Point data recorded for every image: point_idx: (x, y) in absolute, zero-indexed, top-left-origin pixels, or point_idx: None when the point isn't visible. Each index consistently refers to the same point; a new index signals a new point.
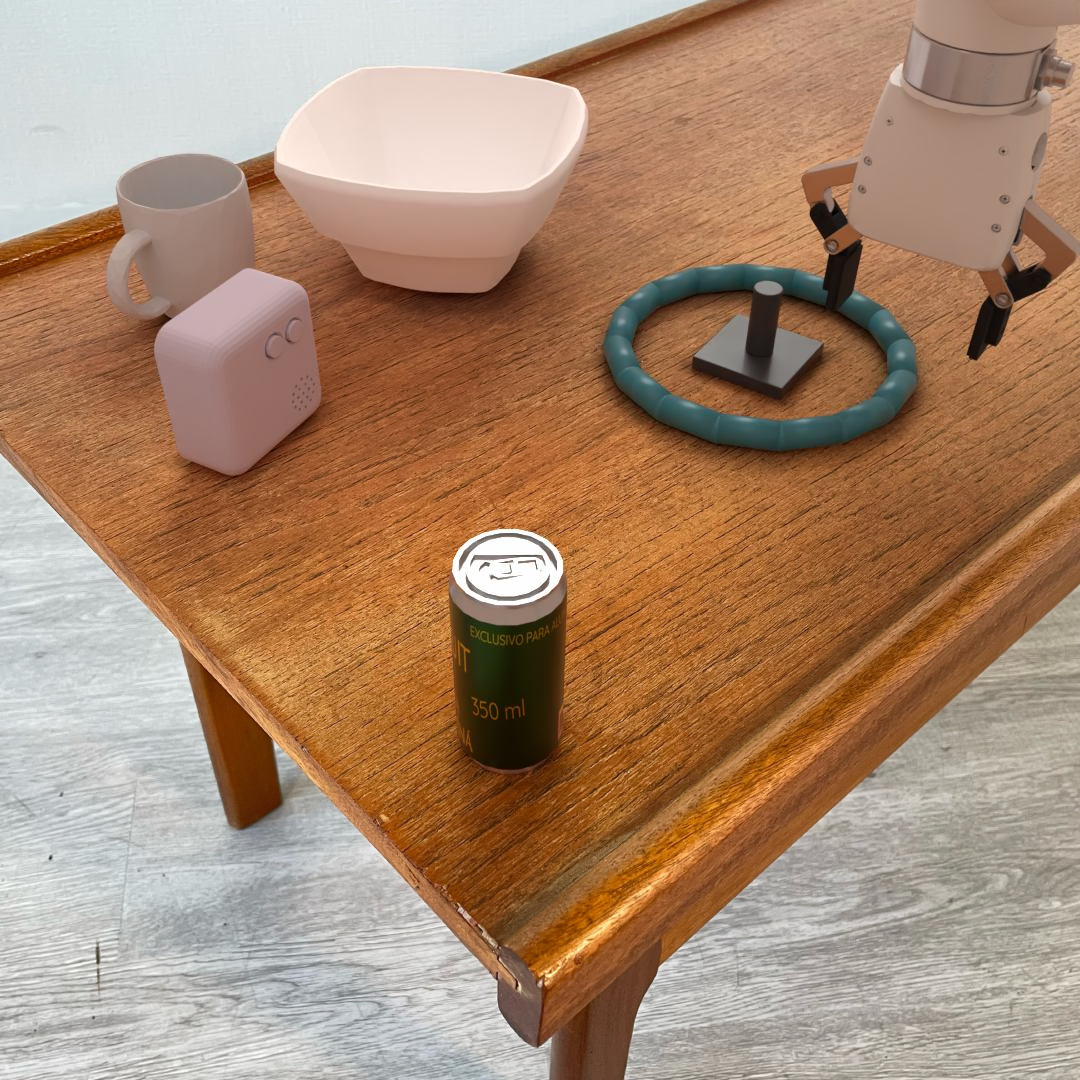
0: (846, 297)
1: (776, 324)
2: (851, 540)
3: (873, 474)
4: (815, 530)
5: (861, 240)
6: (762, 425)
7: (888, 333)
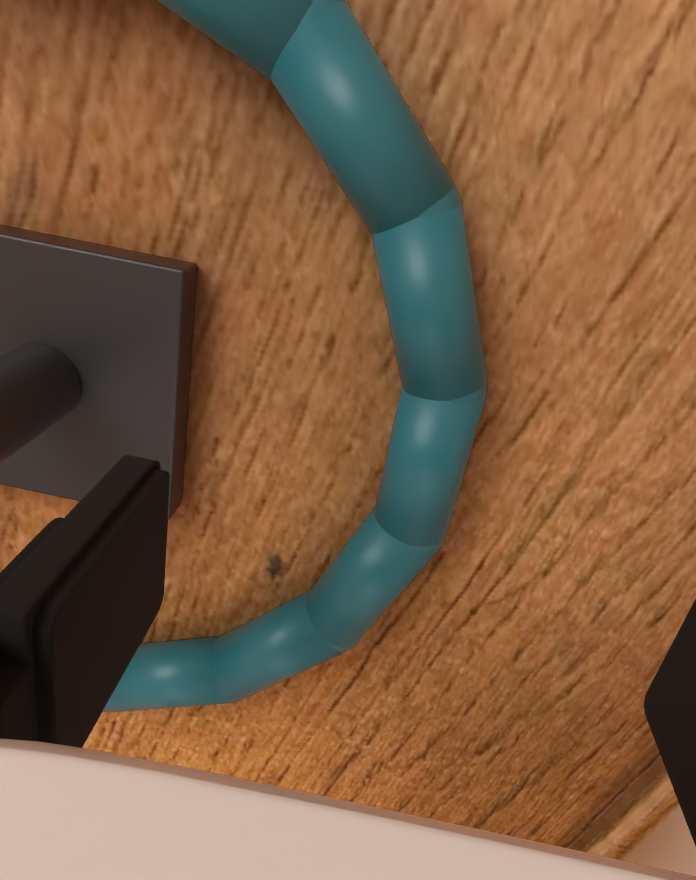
0: (161, 533)
1: (28, 426)
2: (431, 805)
3: (436, 660)
4: (370, 799)
5: (26, 618)
6: (188, 703)
7: (354, 181)
